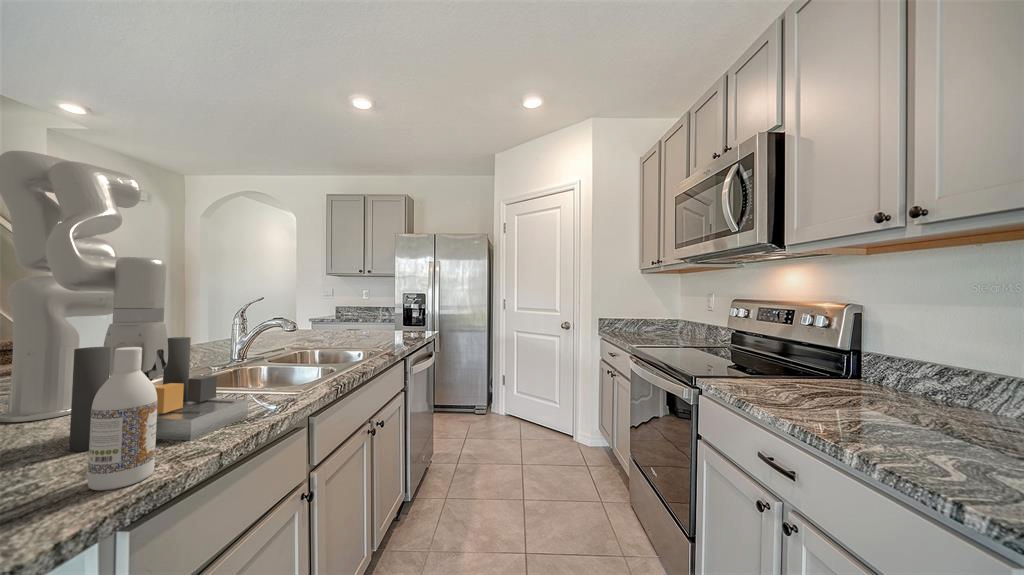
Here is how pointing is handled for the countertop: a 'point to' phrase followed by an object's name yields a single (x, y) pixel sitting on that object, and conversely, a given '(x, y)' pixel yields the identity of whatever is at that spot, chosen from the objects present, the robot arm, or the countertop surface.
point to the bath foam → (123, 425)
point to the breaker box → (200, 418)
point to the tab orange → (169, 397)
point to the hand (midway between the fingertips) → (135, 405)
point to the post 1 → (86, 392)
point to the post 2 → (178, 363)
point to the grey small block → (202, 388)
